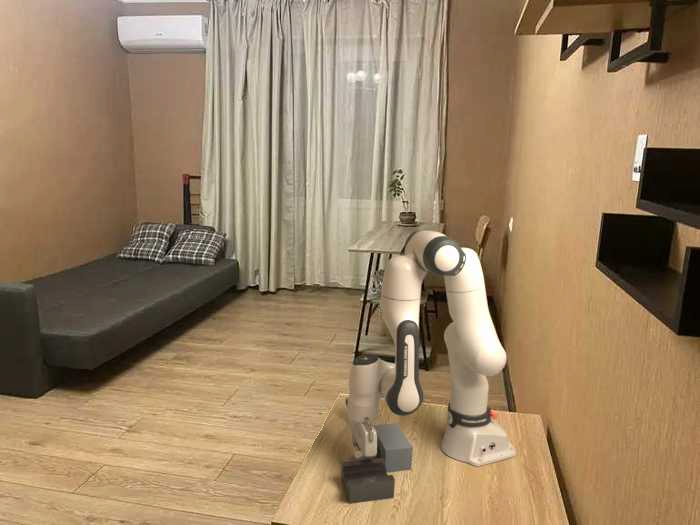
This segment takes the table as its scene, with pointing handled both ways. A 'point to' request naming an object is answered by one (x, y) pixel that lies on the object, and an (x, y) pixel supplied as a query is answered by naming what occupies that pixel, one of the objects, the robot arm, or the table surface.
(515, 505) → the table surface
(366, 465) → the v block
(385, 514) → the table surface
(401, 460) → the grey block
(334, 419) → the table surface
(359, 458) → the axle
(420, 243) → the robot arm
